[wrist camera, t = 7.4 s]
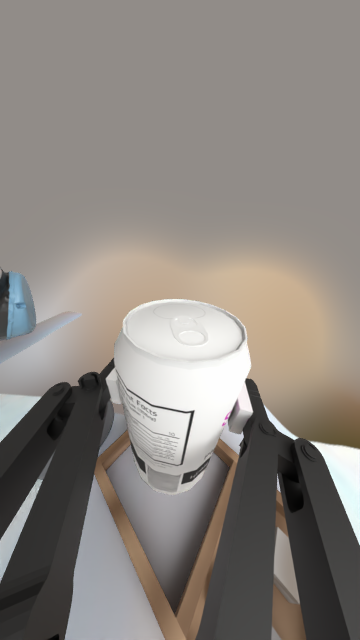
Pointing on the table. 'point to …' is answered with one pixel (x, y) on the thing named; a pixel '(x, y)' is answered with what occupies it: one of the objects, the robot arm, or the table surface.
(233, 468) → the parts tray
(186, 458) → the supplement can
